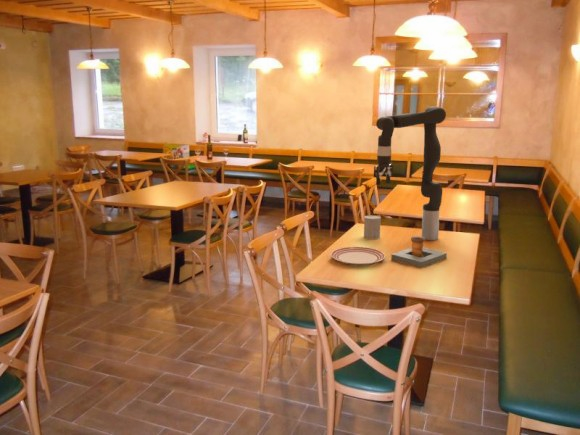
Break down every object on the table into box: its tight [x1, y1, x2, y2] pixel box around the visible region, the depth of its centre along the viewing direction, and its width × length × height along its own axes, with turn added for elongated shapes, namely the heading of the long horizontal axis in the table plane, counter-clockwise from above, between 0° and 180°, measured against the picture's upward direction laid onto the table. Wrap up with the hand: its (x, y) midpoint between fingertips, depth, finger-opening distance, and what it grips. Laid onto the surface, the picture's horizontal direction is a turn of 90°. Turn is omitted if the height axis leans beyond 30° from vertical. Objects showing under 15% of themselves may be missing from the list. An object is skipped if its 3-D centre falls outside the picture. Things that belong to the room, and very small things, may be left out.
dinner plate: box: [330, 246, 386, 266], centre depth 266 cm, size 28×27×3 cm
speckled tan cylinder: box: [363, 214, 382, 240], centre depth 307 cm, size 10×10×12 cm
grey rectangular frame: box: [391, 247, 448, 269], centre depth 266 cm, size 22×18×3 cm
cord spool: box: [410, 235, 425, 258], centre depth 266 cm, size 7×7×11 cm
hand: (383, 184), depth 287 cm, fingers open, 8 cm apart
